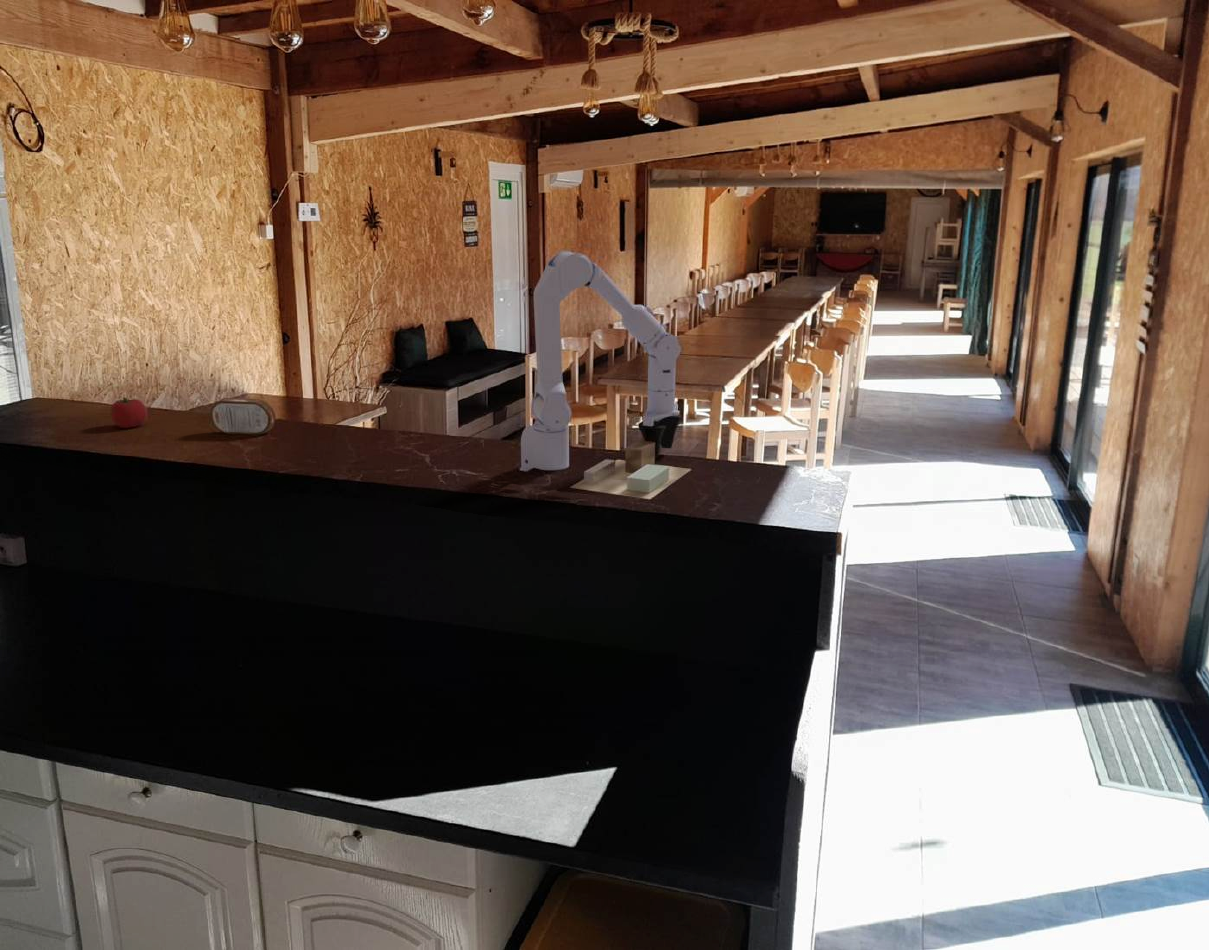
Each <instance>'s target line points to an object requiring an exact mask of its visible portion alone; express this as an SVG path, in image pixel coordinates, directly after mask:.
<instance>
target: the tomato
mask: <svg viewBox="0 0 1209 950" xmlns="http://www.w3.org/2000/svg"><path fill="white" fill-rule="evenodd" d="M148 412H149V411H148V409H147V406H146V405H145V404H144V403H143V402H142V401H141V400H139V399H136V398H135V399H127V397H125V396H124V397H123V399H120V400H115V402H114V403H112V406H111V408H110V416H111V420H112V421H113V422H114V423H115V425H117V426H118V427H119V428H121V429H130V428H136V427H140V426H143V425H144V424H145V423H146V421H147V419H148Z"/></svg>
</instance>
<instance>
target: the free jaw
mask: <svg viewBox="0 0 1209 950" xmlns="http://www.w3.org/2000/svg"><path fill="white" fill-rule="evenodd" d="M657 465H658V464H655V465H650V464H647V465H646V466H644V467H642V468H641V469H639V470H638V471H636V472H634V473H633V474H631V475H630V476H628V477H627V490H631V491H638V492H645V493H650V492H652V491H653V490H654V489H656V488H657V487H659V486H660V485H662V484H663V483H664V482H666V481H667V480H669V467H665V466H666V465H663V466H657Z"/></svg>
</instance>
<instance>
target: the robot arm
mask: <svg viewBox="0 0 1209 950" xmlns="http://www.w3.org/2000/svg"><path fill="white" fill-rule="evenodd" d="M581 287H586V288H589V289H592V290H594V291H595V292H596V293H597V294H598V295H600V296H601V298H602V299H604V300H605V301H606V302H607V303H608V304H609V306H611V307H612V308H614V310H616V312H618V313H619V314H620V315H621V325H622V326H623V328H625V329H626V331H627V332H628V333H629V334H631V336H632V337H633V338H634V339H636V341H637V342H638V343H639V344H641V346H642V347H643V349H644V352H645V354H648V367H647V401H646V402H647V404H646V405H647V408H646V410H645V414H644V415H643V416H642V418H643V419H642V421H640V422H639V423H638V427H637V428H638V429H639V431H640V433H641V435H642V438H643V441H648V442H655V458H658V457H659V455H660V449H661V448H662V449H668V450H669V449H672V448H673V443H674V439H675V436H676V432H677V429H678V427H679V425H680V423H681V421H682V419H683V415H682V414H680V412H681V411H680V410H678V404H677V403H675V401H676V400H675V398H676V369H677V368H676V362H677V361H676V360H677V358H678V357H679V356H680V353H681V351H682V346H680V344H679V339H678V338H677V337H676V336H675V335H673V334H671V333H669V332H667V329H668V327H667V326H666V324H665V323H660V321H659V320H657V318H655V316H653V314H652V313H653V310H652V309H651V307H649V306H644V305H643V304H634V303H632V301H631V300H630V299H629V298H628V297H627V296H626V295H625V293H624V292H622V290H621V289H620V288H619V287H618V286H617V285H616V284H615V282H614V281H613V280H612V279H611V278H610V277H609V275H607V274H606V272H605V271H603V269H602V268H601V267H600V266H598V265H597V264H596V263H595V262H592V261H591V260H590V258H589V257H588V256H587V255H585V254H583V253H579V252H578V253H577V252H573V251H569V250H561V251H559V252H557V253H556V254H555V255H554V256H553V257H551V258H549V260H547V262H546V264H545V268H544V270H543V272H542V274H541V276H540V278H539V280H538V282H537V284H536V286H535V287H534V289H533V290H534V291H533V309H534V311H533V313H534V315H533V316H534V331H535V332H534V333H535V334H534V335H535V355H536V357H535V358H536V372H537V373H536V374H537V375H536V376H537V378H536V379H537V382H536V384H535V385H534V396H533V399H532V400H531V401H532V402H531V403H530V404H531V405H530V408H531V409H530V410H531V414H532V415H533V416H534V418H535V421H534V422H533V425H527V426H526V427H525V428H524V429H523V431H522V434H521V438H520V462H521V463H520V464H521V467H519V471H520V472H521V471H522V472H528V471H531V470H532V469H534V468H535V469H538V470H542V471H561V470H564V469H567V468H569V467H570V441H569V440H570V435H569V434H570V433H569V432H570V427H569V426H570V425H569V424H570V422H571V420H572V415H573V413H572V409H571V406H570V405H569V403H568V401H567V392H566V389H565V385H564V382H563V381H564V380H563V357H562V355H563V354H562V333H561V332H562V330H561V311H560V309H561V308H560V304H561V302H562V301H563V300H564V299H565V298H566V297H567V296H568V295H569V294H570V293H571V292H572V291H575V290H578V289H579V288H581Z"/></svg>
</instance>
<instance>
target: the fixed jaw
mask: <svg viewBox="0 0 1209 950" xmlns="http://www.w3.org/2000/svg"><path fill="white" fill-rule="evenodd" d="M615 461H616V460H615V459H608V458H607V459H606V458H605V459H604V460H603V461H601V462H599V463H597V464H595V465H594V466H592V467H590V468H588V469H586V470H585V471H584V472H583V480H584V484H586V485H593V486H594V485H595V484H597V483H599V482H600V481H602V480H604V479H605V478H607V477H608V476H610V475H612V474H613V473H615Z"/></svg>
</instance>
